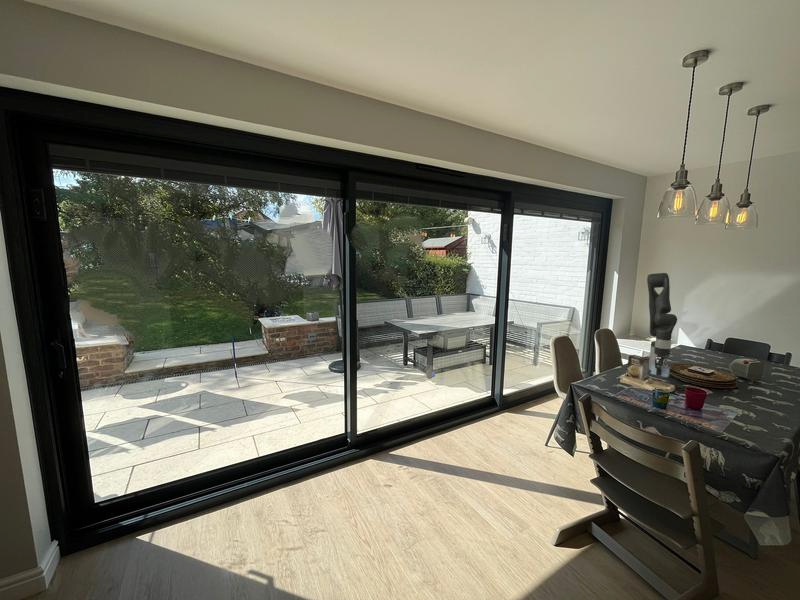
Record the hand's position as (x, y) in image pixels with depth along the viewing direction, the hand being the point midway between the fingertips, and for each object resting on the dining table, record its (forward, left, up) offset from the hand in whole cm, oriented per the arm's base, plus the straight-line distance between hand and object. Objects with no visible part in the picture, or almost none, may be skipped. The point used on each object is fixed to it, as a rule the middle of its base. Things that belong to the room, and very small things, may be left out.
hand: (659, 374), depth 199 cm
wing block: (0, 0, 0) cm, 0 cm away
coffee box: (0, -12, -8) cm, 14 cm away
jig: (0, -6, -9) cm, 11 cm away
